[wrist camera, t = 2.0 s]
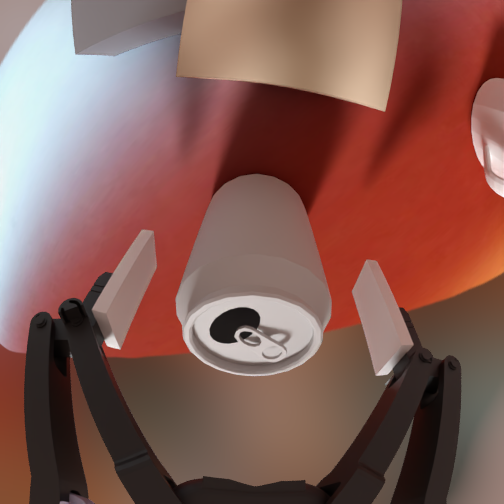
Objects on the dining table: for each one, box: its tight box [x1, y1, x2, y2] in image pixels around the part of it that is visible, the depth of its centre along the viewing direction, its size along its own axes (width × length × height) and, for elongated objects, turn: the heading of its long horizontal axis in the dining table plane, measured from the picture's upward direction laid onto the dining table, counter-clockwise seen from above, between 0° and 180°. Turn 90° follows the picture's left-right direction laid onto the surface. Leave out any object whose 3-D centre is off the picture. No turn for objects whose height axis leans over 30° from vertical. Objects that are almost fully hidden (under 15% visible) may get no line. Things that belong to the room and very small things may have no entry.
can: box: [176, 174, 332, 376], centre depth 16 cm, size 8×8×12 cm
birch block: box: [176, 0, 402, 112], centre depth 10 cm, size 10×10×6 cm
